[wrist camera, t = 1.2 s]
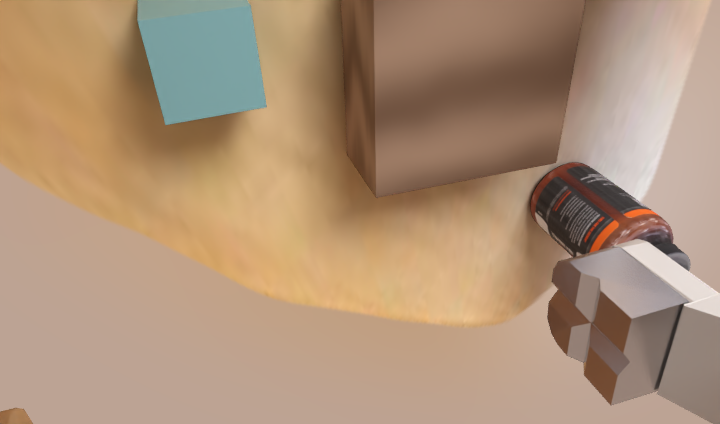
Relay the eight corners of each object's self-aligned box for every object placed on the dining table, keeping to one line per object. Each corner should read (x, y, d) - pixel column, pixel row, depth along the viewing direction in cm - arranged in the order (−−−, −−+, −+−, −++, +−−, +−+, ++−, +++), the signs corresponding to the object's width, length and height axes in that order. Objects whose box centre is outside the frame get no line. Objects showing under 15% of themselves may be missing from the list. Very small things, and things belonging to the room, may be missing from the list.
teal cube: (137, -4, 29) (137, 21, 25) (235, -16, 30) (250, 5, 26) (162, 90, 32) (165, 125, 28) (251, 75, 33) (266, 106, 29)
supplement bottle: (521, 230, 46) (614, 324, 37) (533, 165, 43) (638, 250, 34) (584, 218, 48) (687, 305, 39) (600, 154, 45) (717, 232, 36)
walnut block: (337, -44, 31) (373, -23, 27) (530, -60, 34) (593, -44, 30) (345, 153, 38) (376, 197, 33) (507, 125, 41) (556, 162, 36)
